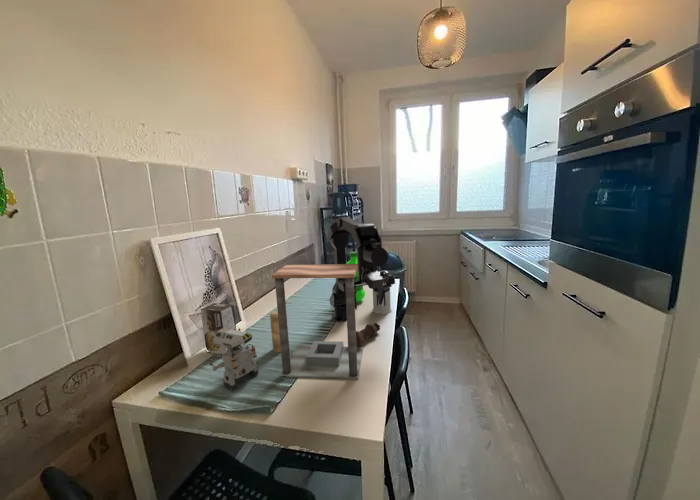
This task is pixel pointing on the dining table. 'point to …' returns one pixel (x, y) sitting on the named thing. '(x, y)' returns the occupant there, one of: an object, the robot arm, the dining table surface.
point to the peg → (275, 332)
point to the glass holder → (385, 305)
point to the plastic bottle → (359, 289)
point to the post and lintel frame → (297, 362)
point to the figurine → (235, 355)
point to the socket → (325, 359)
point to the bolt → (366, 333)
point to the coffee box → (217, 324)
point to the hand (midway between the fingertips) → (368, 306)
